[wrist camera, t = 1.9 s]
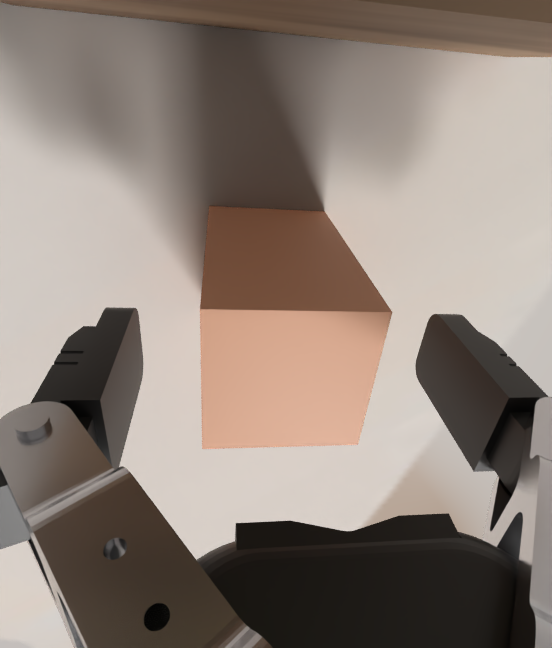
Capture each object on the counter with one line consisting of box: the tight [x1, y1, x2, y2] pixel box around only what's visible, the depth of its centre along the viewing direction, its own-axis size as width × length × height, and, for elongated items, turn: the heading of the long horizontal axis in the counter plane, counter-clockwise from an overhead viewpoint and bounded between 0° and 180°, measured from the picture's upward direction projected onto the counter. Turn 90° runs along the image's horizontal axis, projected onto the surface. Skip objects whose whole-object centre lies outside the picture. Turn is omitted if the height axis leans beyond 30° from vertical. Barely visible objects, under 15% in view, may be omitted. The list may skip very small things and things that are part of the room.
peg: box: [200, 206, 392, 449], centre depth 13 cm, size 4×4×7 cm
